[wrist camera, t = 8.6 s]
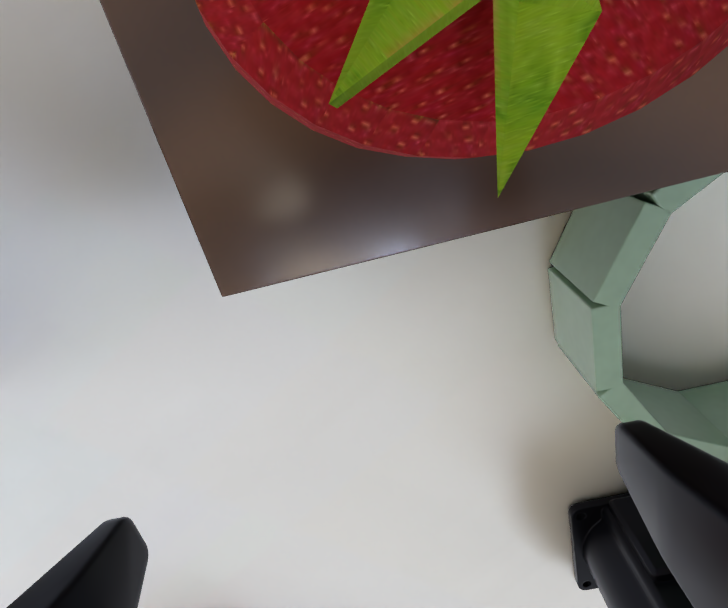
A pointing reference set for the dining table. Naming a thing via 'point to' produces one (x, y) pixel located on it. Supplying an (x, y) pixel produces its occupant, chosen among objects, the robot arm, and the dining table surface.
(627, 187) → the shelf
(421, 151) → the strawberry
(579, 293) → the holder
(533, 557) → the dining table surface
